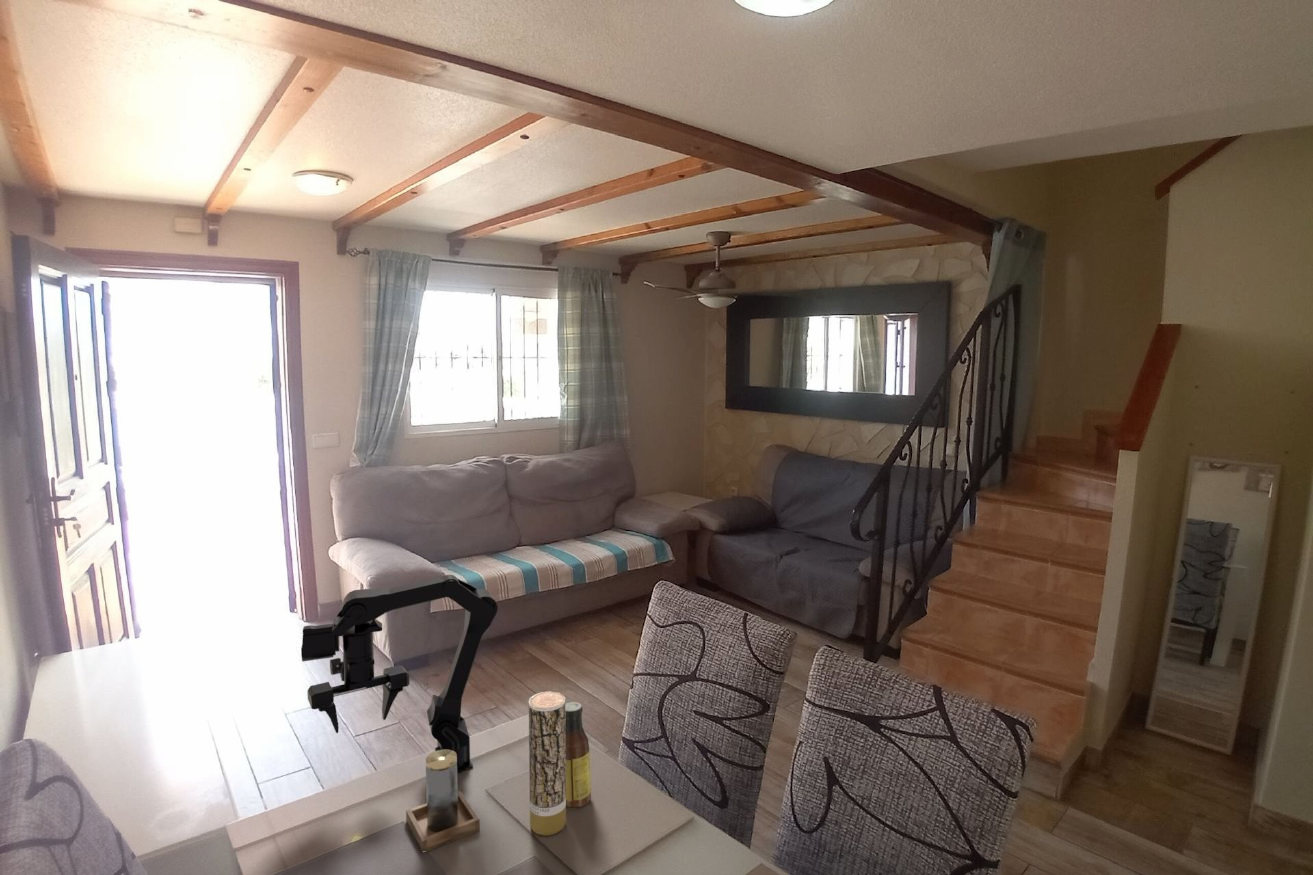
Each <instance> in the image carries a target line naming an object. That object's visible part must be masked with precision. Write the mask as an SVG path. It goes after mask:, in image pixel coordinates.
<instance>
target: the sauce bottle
mask: <svg viewBox="0 0 1313 875" xmlns="http://www.w3.org/2000/svg"><path fill="white" fill-rule="evenodd" d="M582 714H583V706H582V704H581V703H579V702H578V701H570V702H565V733H566V807H570V808H572V809H573V808H575V809H576V808H580V807H584V806H585V805H587V804H588V803H589V802H590V801H591V797H592V795H591V794H592V778H591V775H592V774H591V758H590V754H591V753H590V744H589V738H588V736H587V734H586V732H585V730H584V727H583V719H582V717H583V715H582Z"/></svg>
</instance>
